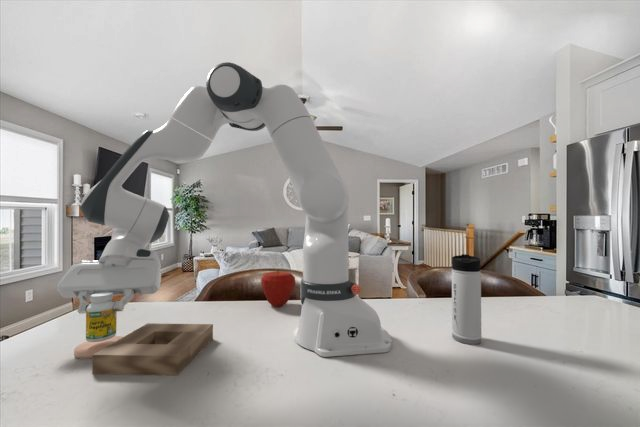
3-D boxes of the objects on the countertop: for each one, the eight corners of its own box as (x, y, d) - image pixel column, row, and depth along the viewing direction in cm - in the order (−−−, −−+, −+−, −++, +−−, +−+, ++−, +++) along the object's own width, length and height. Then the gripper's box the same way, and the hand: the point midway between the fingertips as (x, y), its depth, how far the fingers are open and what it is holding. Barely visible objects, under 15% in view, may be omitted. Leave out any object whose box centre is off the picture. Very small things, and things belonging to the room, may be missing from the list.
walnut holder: (212, 338, 68) (213, 324, 68) (177, 375, 52) (177, 356, 52) (147, 338, 68) (147, 323, 69) (92, 373, 53) (92, 354, 53)
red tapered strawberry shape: (301, 304, 96) (301, 268, 97) (280, 312, 87) (280, 273, 88) (276, 299, 102) (276, 265, 103) (254, 306, 93) (254, 270, 93)
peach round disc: (134, 340, 67) (134, 336, 67) (104, 359, 58) (105, 354, 58) (97, 340, 67) (97, 335, 67) (62, 358, 58) (62, 353, 58)
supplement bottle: (116, 331, 66) (117, 289, 67) (115, 339, 62) (116, 294, 62) (87, 336, 63) (88, 293, 64) (83, 345, 59) (84, 298, 59)
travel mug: (480, 336, 70) (479, 254, 71) (482, 346, 64) (481, 258, 65) (452, 331, 73) (451, 253, 73) (452, 341, 67) (451, 256, 67)
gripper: (68, 253, 68) (36, 307, 58) (162, 251, 72) (147, 301, 62) (79, 269, 72) (51, 321, 62) (167, 266, 76) (154, 315, 67)
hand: (100, 311), depth 62 cm, fingers closed on supplement bottle, 5 cm apart
